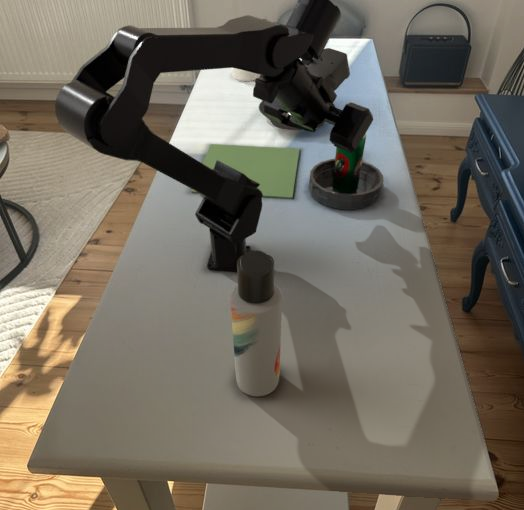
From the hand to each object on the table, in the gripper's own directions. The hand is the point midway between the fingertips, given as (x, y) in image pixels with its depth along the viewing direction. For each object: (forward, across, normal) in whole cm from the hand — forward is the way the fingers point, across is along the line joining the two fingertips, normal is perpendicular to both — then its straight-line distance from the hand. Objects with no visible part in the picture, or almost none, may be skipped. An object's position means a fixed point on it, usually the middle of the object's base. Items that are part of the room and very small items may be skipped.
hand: (335, 138), depth 84 cm
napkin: (+7, +19, +11) cm, 23 cm away
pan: (+12, 0, +5) cm, 13 cm away
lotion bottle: (-20, -22, +37) cm, 47 cm away
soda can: (+12, 0, +5) cm, 13 cm away
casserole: (+26, +30, -8) cm, 41 cm away
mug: (+33, +59, -16) cm, 70 cm away
